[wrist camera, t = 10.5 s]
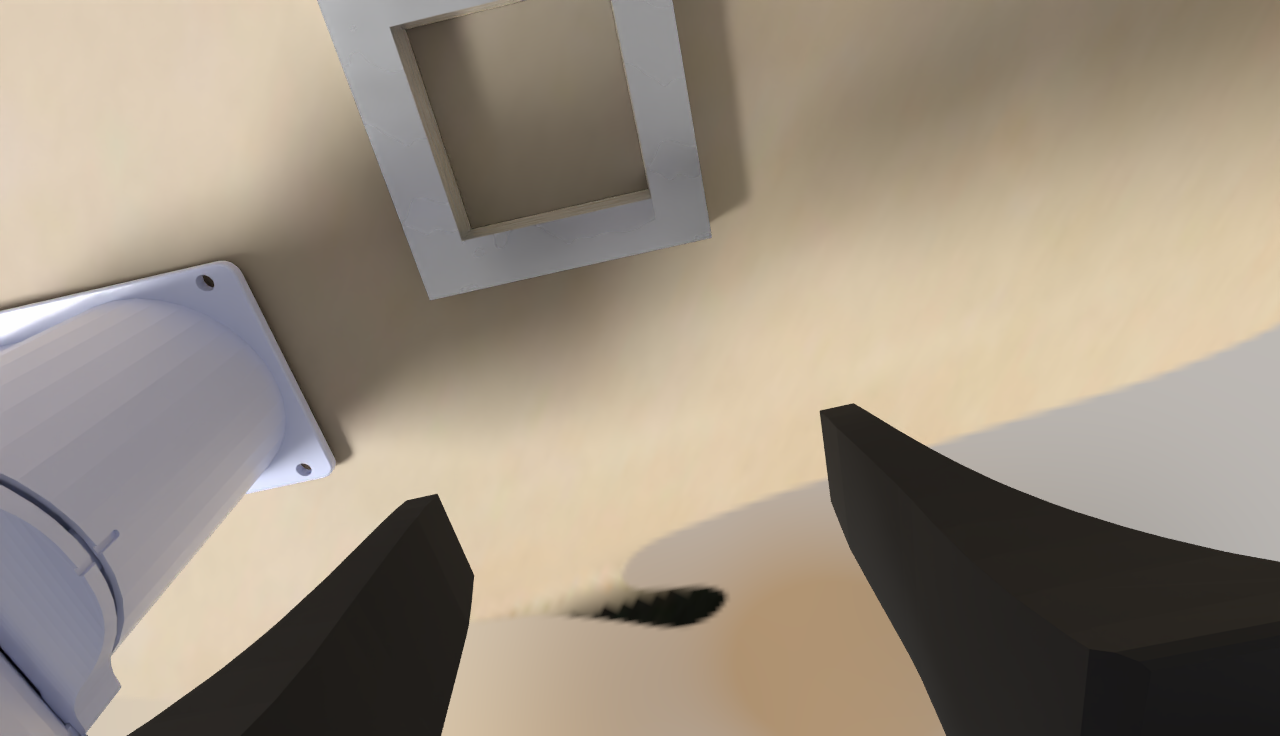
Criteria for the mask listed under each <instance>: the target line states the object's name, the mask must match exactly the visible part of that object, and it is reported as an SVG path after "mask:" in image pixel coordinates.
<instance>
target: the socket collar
mask: <svg viewBox="0 0 1280 736" xmlns="http://www.w3.org/2000/svg"><path fill="white" fill-rule="evenodd" d="M317 1H318V4H319V7H320V9H321V12H322V15H323V17H324V20H325V23H326V25H327V28H328V31H329V33H330V36H331V39H332V41H333V44H334V47H335V49H336V52H337V54H338V57H339V60H340V62H341V65H342V68H343V70H344V73H345V76H346V78H347V81H348V84H349V86H350V89H351V92H352V94H353V97H354V100H355V102H356V105H357V108H358V110H359V113H360V116H361V118H362V121H363V124H364V126H365V129H366V132H367V134H368V137H369V140H370V142H371V145H372V148H373V150H374V153H375V156H376V158H377V161H378V164H379V166H380V169H381V172H382V174H383V177H384V180H385V182H386V185H387V188H388V190H389V193H390V196H391V198H392V201H393V204H394V206H395V209H396V212H397V214H398V217H399V220H400V222H401V225H402V228H403V230H404V233H405V236H406V238H407V241H408V244H409V246H410V249H411V252H412V254H413V257H414V259H415V262H416V265H417V267H418V270H419V273H420V275H421V278H422V281H423V283H424V286H425V289H426V291H427V294H428V297H429V299H430V300H434V299H439V298H443V297H448V296H452V295H457V294H461V293H466V292H470V291H475V290H479V289H484V288H488V287H493V286H497V285H502V284H506V283H511V282H515V281H520V280H524V279H529V278H533V277H538V276H542V275H547V274H551V273H556V272H560V271H565V270H569V269H574V268H578V267H583V266H587V265H592V264H596V263H601V262H605V261H610V260H614V259H618V258H623V257H627V256H632V255H636V254H641V253H645V252H650V251H654V250H659V249H663V248H668V247H672V246H677V245H681V244H686V243H690V242H695V241H699V240H704V239H708V238H712V235H711V229H710V223H709V217H708V211H707V205H706V199H705V193H704V187H703V181H702V175H701V169H700V163H699V157H698V151H697V145H696V139H695V133H694V127H693V121H692V115H691V109H690V103H689V97H688V91H687V85H686V79H685V73H684V67H683V61H682V55H681V49H680V43H679V37H678V31H677V25H676V19H675V13H674V7H673V1H672V0H610V2H611V7H612V12H613V17H614V22H615V27H616V32H617V37H618V42H619V47H620V51H621V56H622V61H623V66H624V71H625V76H626V81H627V86H628V91H629V96H630V101H631V105H632V110H633V115H634V120H635V125H636V130H637V135H638V140H639V145H640V150H641V155H642V160H643V164H644V169H645V174H646V179H647V184H648V189H646V190H641V191H637V192H633V193H628V194H624V195H619V196H615V197H611V198H606V199H602V200H597V201H593V202H589V203H584V204H580V205H575V206H571V207H567V208H562V209H558V210H553V211H549V212H545V213H540V214H536V215H531V216H527V217H523V218H518V219H514V220H509V221H505V222H501V223H496V224H492V225H487V226H483V227H478V228H474V229H471V226H470V223H469V220H468V217H467V214H466V211H465V208H464V205H463V202H462V199H461V196H460V193H459V190H458V187H457V184H456V181H455V177H454V174H453V171H452V168H451V165H450V162H449V159H448V156H447V153H446V150H445V147H444V144H443V141H442V138H441V135H440V132H439V129H438V126H437V123H436V120H435V117H434V114H433V111H432V108H431V105H430V102H429V99H428V95H427V92H426V89H425V86H424V83H423V80H422V77H421V74H420V71H419V68H418V65H417V62H416V59H415V56H414V53H413V50H412V47H411V44H410V41H409V38H408V35H407V32H406V29H410V28H414V27H418V26H422V25H426V24H430V23H434V22H439V21H443V20H447V19H451V18H455V17H459V16H463V15H467V14H471V13H476V12H480V11H484V10H488V9H492V8H496V7H500V6H504V5H509V4H513V3H517V2H521V1H525V0H317Z"/></svg>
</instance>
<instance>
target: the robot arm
mask: <svg viewBox="0 0 1280 736" xmlns="http://www.w3.org/2000/svg"><path fill="white" fill-rule="evenodd" d="M203 275H206V276H208V277H210V278H211V279H212V280H213V282H214V287H210V286H208V285H207V284H206V283H205V282H204V279H203ZM0 333H1V334H0V736H88V735H86V732H87V731H88V730H89V729H90V727H91V726H92V725H93V724H94V722H95V721H96V720H97V718H98V717H99V716H100V714H101V713H102V712H103V711H104V709H105V708H106V707H107V705H108V704H109V703H110V701H111V700H112V699H113V698H114V696H115V695H116V694H117V692H118V691H119V690H120V688H121V685H120V683H119V681H118V679H117V678H116V676H115V675H114V673H113V670H112V667H111V656H112V654H113V653H114V652H115V651H116V649H117V648H118V647H119V646H120V645H121V643H122V642H123V641H124V640H125V639H126V637H127V636H128V635H129V634H130V633H131V631H132V630H133V629H134V628H135V627H136V625H137V624H138V623H139V622H140V620H141V619H142V618H143V617H144V616H145V614H146V613H147V612H148V611H149V610H150V608H151V607H152V606H153V605H154V604H155V602H156V601H157V600H158V599H159V598H160V596H161V595H162V594H163V593H164V591H165V590H166V589H167V588H168V587H169V585H170V584H171V583H172V582H173V581H174V579H175V578H176V577H177V576H178V575H179V573H180V572H181V571H182V570H183V569H184V567H185V566H186V565H187V564H188V562H189V561H190V560H191V559H192V558H193V556H194V555H195V554H196V553H197V552H198V550H199V549H200V548H201V547H202V546H203V544H204V543H205V542H206V541H207V540H208V538H209V537H210V536H211V535H212V533H213V532H214V531H215V530H216V529H217V527H218V526H219V525H220V524H221V523H222V521H223V520H224V519H225V518H226V517H227V515H228V514H229V513H230V512H231V511H232V509H233V508H234V507H235V506H236V504H237V503H238V502H239V501H240V500H241V498H242V497H243V496H244V495H245V494H249V493H253V492H258V491H263V490H267V489H272V488H277V487H282V486H286V485H291V484H296V483H301V482H305V481H310V480H315V479H319V478H324V477H326V476H329V475H330V474H331V472H332V471H333V470H334V468H335V465H336V461H335V458H334V456H333V454H332V452H331V450H330V448H329V446H328V444H327V442H326V440H325V438H324V436H323V434H322V432H321V430H320V428H319V426H318V424H317V422H316V420H315V418H314V416H313V414H312V412H311V410H310V408H309V406H308V404H307V402H306V400H305V398H304V396H303V394H302V392H301V390H300V388H299V386H298V384H297V382H296V380H295V378H294V376H293V374H292V372H291V370H290V368H289V366H288V364H287V362H286V360H285V358H284V356H283V354H282V352H281V350H280V348H279V346H278V344H277V342H276V340H275V338H274V336H273V334H272V332H271V330H270V328H269V326H268V324H267V322H266V320H265V318H264V316H263V314H262V312H261V310H260V308H259V306H258V304H257V302H256V300H255V298H254V296H253V294H252V292H251V290H250V288H249V286H248V284H247V282H246V280H245V278H244V276H243V274H242V272H241V271H240V269H239V268H238V267H237V266H236V265H234V264H233V263H231V262H228V261H216V262H211V263H207V264H203V265H198V266H194V267H189V268H185V269H181V270H176V271H172V272H168V273H163V274H159V275H155V276H150V277H146V278H141V279H137V280H133V281H128V282H124V283H120V284H115V285H111V286H107V287H102V288H98V289H93V290H89V291H85V292H80V293H76V294H72V295H67V296H63V297H58V298H54V299H50V300H45V301H41V302H37V303H32V304H28V305H24V306H19V307H15V308H10V309H6V310H2V311H0ZM820 417H821V425H822V433H823V441H824V449H825V457H826V465H827V473H828V481H829V489H830V497H831V502H832V505H833V507H834V510H835V513H836V515H837V517H838V520H839V523H840V525H841V528H842V530H843V533H844V535H845V537H846V540H847V542H848V544H849V547H850V549H851V551H852V553H853V555H854V556H855V559H856V560H857V562H858V564H859V566H860V567H861V569H862V571H863V573H864V575H865V576H866V578H867V580H868V582H869V584H870V586H871V587H872V589H873V591H874V592H875V594H876V596H877V598H878V600H879V601H880V603H881V605H882V607H883V609H884V610H885V612H886V614H887V616H888V618H889V619H890V621H891V623H892V625H893V627H894V628H895V630H896V632H897V634H898V635H899V637H900V639H901V641H902V642H903V644H904V646H905V648H906V650H907V652H908V653H909V655H910V657H911V659H912V661H913V663H914V665H915V667H916V669H917V671H918V673H919V675H920V677H921V679H922V681H923V683H924V686H925V688H926V690H927V693H928V695H929V697H930V699H931V702H932V704H933V706H934V708H935V710H936V713H937V715H938V717H939V720H940V722H941V724H942V727H943V729H944V731H945V734H946V736H1280V562H1278V561H1272V560H1267V559H1261V558H1256V557H1250V556H1245V555H1239V554H1233V553H1229V552H1224V551H1219V550H1215V549H1211V548H1206V547H1202V546H1198V545H1194V544H1189V543H1185V542H1181V541H1176V540H1172V539H1168V538H1164V537H1160V536H1156V535H1153V534H1149V533H1145V532H1142V531H1138V530H1134V529H1130V528H1127V527H1123V526H1120V525H1117V524H1114V523H1110V522H1107V521H1104V520H1101V519H1098V518H1094V517H1091V516H1087V515H1085V514H1081V513H1078V512H1075V511H1072V510H1069V509H1066V508H1063V507H1061V506H1058V505H1055V504H1052V503H1049V502H1047V501H1044V500H1042V499H1039V498H1037V497H1034V496H1031V495H1029V494H1026V493H1024V492H1021V491H1019V490H1016V489H1014V488H1011V487H1008V486H1006V485H1004V484H1002V483H999V482H997V481H995V480H992V479H990V478H988V477H986V476H984V475H982V474H980V473H978V472H976V471H974V470H971V469H969V468H967V467H965V466H963V465H961V464H959V463H957V462H955V461H953V460H951V459H949V458H947V457H945V456H943V455H941V454H940V453H938V452H936V451H934V450H932V449H930V448H928V447H927V446H925V445H923V444H921V443H920V442H918V441H916V440H914V439H913V438H911V437H909V436H907V435H906V434H904V433H902V432H900V431H899V430H897V429H895V428H894V427H892V426H890V425H889V424H887V423H885V422H884V421H882V420H880V419H879V418H877V417H876V416H874V415H872V414H871V413H869V412H867V411H866V410H864V409H862V408H861V407H859V406H857V405H855V404H854V403H853V404H849V405H844V406H839V407H835V408H830V409H826V410H821V411H820ZM301 463H302V464H307V465H309V466H310V467H311V470H309V469H305V468H304V467H303V466H302V465H301ZM473 582H474V574H473V572H472V570H471V567H470V565H469V563H468V561H467V558H466V556H465V554H464V552H463V550H462V547H461V545H460V543H459V541H458V538H457V536H456V534H455V532H454V530H453V527H452V525H451V523H450V521H449V518H448V516H447V514H446V512H445V510H444V507H443V505H442V503H441V501H440V498H439V496H438V494H434V495H430V496H425V497H420V498H416V499H411V500H407V501H405V502H404V503H403V504H402V505H401V506H399V507H398V508H397V509H396V510H395V511H394V512H393V513H392V514H390V515H389V516H388V517H387V518H386V519H385V520H384V521H383V522H382V523H381V524H380V525H379V526H378V527H377V528H376V529H375V530H374V531H373V532H372V533H371V534H370V535H369V536H368V537H367V538H366V539H365V540H364V541H363V542H362V543H361V544H360V545H359V546H358V547H357V548H356V549H355V550H354V551H353V552H352V553H351V554H350V555H349V556H348V557H347V558H346V559H345V560H344V561H343V562H342V563H341V564H340V565H339V566H338V567H337V568H336V569H335V570H334V571H333V572H332V573H331V574H330V575H329V576H328V577H327V578H326V579H325V580H323V581H322V582H321V583H320V584H319V585H318V586H317V587H316V588H315V589H314V590H313V591H312V592H311V593H309V594H308V595H307V596H306V597H305V598H304V599H303V600H302V601H301V602H300V603H299V604H298V605H296V606H295V607H294V608H293V609H292V610H291V611H290V612H289V613H288V614H287V615H286V616H285V617H284V618H282V619H281V620H280V621H279V622H278V623H277V624H276V625H275V626H273V627H272V628H271V629H270V630H269V631H268V632H266V633H265V634H264V635H263V636H262V637H260V638H259V639H258V640H257V641H256V642H255V643H253V644H252V645H251V646H250V647H248V648H247V649H246V650H245V651H243V652H242V653H241V654H240V655H238V656H237V657H236V658H235V659H233V660H232V661H231V662H230V663H228V664H227V665H226V666H225V667H223V668H222V669H221V670H219V671H218V672H217V673H216V674H214V675H213V676H212V677H210V678H209V679H207V680H206V681H205V682H203V683H202V684H200V685H199V686H198V687H196V688H195V689H193V690H192V691H191V692H189V693H188V694H186V695H185V696H184V697H182V698H181V699H179V700H178V701H177V702H175V703H174V704H172V705H171V706H170V707H168V708H167V709H165V710H164V711H163V712H161V713H160V714H159V715H157V716H156V717H154V718H153V719H152V720H150V721H149V722H147V723H146V724H144V725H143V726H141V727H140V728H138V729H136V730H135V731H134V732H132V733H130V734H129V735H127V736H441V733H442V729H443V726H444V722H445V718H446V714H447V710H448V706H449V702H450V698H451V694H452V691H453V686H454V683H455V679H456V675H457V671H458V667H459V663H460V659H461V655H462V651H463V647H464V643H465V639H466V635H467V630H468V626H469V619H470V611H471V603H472V593H473Z"/></svg>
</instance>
